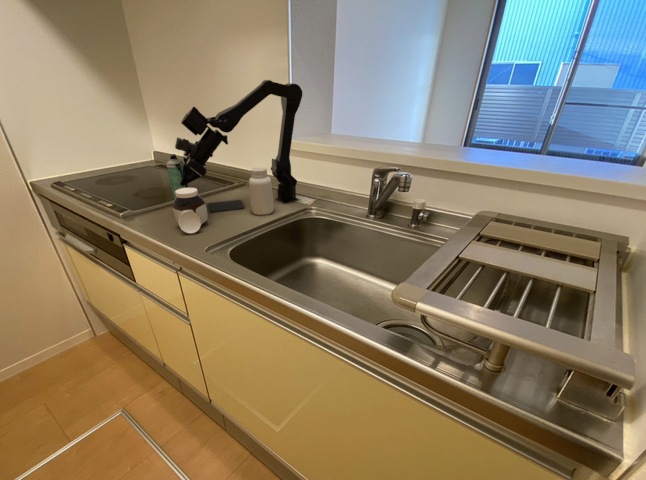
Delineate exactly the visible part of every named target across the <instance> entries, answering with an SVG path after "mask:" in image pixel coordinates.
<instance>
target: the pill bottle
mask: <svg viewBox="0 0 646 480" xmlns="http://www.w3.org/2000/svg"><path fill="white" fill-rule="evenodd" d="M250 172H251V177H250V178H249V179H248V189H249V197H250V206H251V212H252V213H253V214H254V215H258V216H265V215H269V214H272V213H273V212H274V198H273V197H274V196H273V185H272V179H271V177H270V176H268V170H267V168H265V167H254V168H251V170H250Z"/></svg>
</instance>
